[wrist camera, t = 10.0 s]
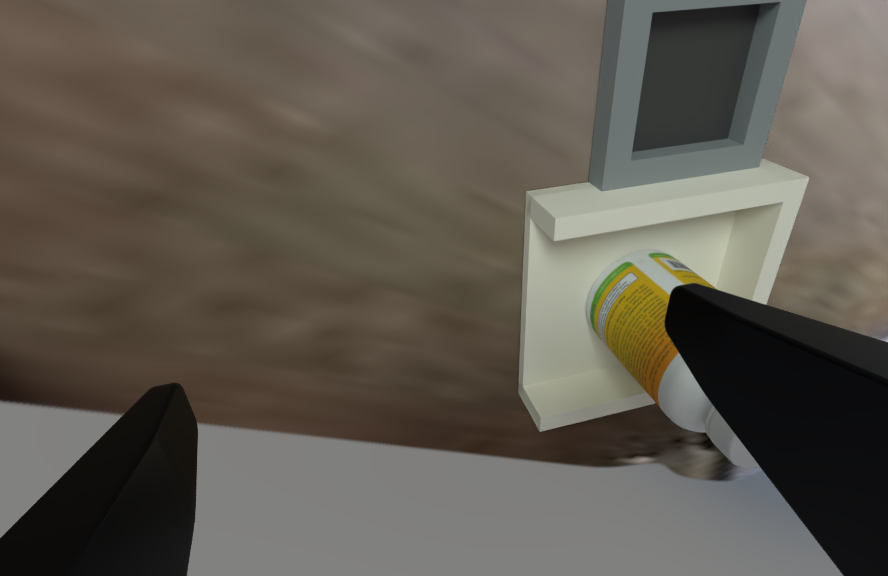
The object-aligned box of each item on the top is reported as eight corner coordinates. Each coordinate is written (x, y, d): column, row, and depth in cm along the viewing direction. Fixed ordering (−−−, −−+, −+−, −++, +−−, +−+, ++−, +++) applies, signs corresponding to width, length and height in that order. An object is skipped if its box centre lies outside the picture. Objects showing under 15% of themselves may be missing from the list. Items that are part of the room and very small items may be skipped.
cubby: (518, 392, 30) (539, 431, 27) (526, 191, 23) (555, 218, 21) (703, 350, 32) (739, 382, 29) (758, 156, 25) (809, 177, 23)
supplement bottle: (586, 349, 28) (707, 501, 20) (579, 267, 25) (717, 408, 17) (676, 316, 29) (829, 451, 21) (680, 231, 26) (859, 352, 18)
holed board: (588, 181, 24) (601, 191, 23) (610, -24, 19) (628, -24, 18) (740, 159, 25) (759, 167, 24) (791, -37, 21) (817, -37, 20)
